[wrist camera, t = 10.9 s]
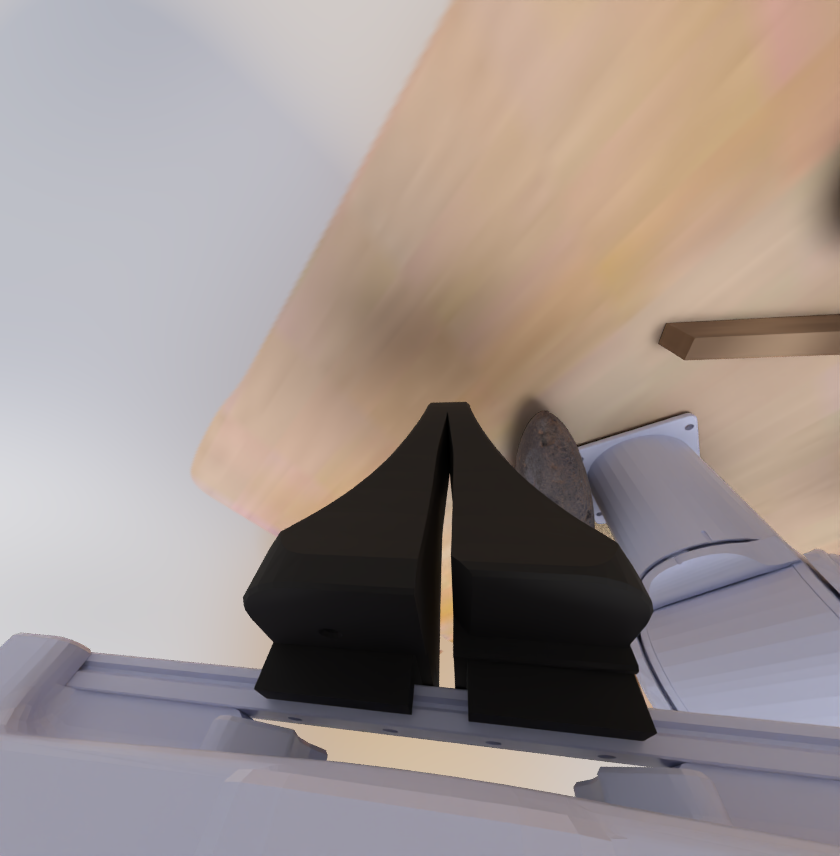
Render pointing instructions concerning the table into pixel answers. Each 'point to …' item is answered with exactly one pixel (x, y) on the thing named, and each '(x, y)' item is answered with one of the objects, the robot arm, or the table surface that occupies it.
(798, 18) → the table surface
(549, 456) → the perforated stone tool
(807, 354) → the tray
